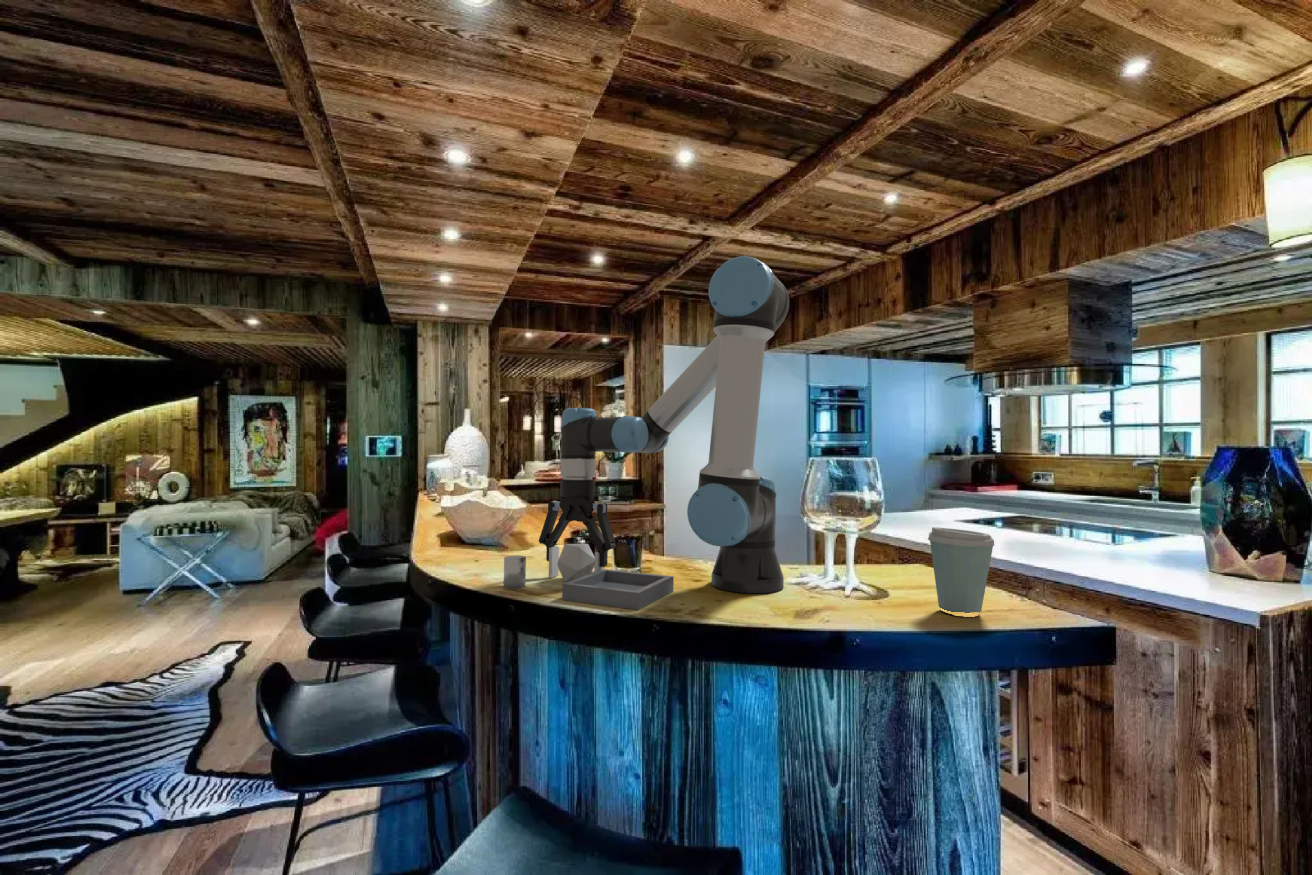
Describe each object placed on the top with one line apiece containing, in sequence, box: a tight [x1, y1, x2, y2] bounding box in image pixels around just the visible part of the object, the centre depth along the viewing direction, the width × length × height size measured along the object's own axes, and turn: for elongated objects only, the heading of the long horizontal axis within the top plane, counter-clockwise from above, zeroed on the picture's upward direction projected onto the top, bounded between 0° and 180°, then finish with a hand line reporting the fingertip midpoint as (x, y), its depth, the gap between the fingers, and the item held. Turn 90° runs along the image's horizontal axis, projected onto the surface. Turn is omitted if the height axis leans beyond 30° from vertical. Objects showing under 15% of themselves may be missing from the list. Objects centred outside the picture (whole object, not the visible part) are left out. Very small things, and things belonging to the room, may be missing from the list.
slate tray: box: [561, 568, 674, 611], centre depth 112 cm, size 16×16×3 cm
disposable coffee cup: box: [927, 526, 995, 613], centre depth 102 cm, size 11×11×15 cm
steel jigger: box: [503, 555, 527, 590], centre depth 119 cm, size 4×4×6 cm
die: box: [557, 543, 595, 583], centre depth 126 cm, size 8×9×10 cm
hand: (575, 579), depth 126 cm, fingers open, 11 cm apart
